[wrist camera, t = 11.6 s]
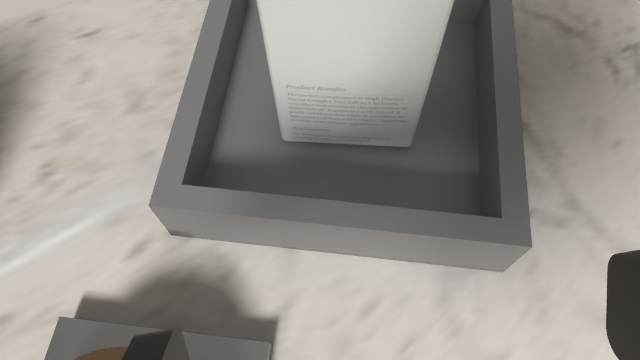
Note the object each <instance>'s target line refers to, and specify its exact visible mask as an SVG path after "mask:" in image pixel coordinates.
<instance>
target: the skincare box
mask: <svg viewBox="0 0 640 360" xmlns="http://www.w3.org/2000/svg"><path fill="white" fill-rule="evenodd" d="M453 2H454V0H257V6H258V11H259V16H260V22H261V27H262V33H263V38H264V44H265V49H266V55H267V60H268V66H269V71H270V77H271V82H272V87H273V93H274V98H275V104H276V109H277V114H278V120H279V127H280V133H281V137H282V139H283V140H284V141H293V142H316V143H336V144H356V145H375V146H396V147H410V146H411V145H412V141H413V138H414V134H415V131H416V127H417V124H418V121H419V117H420V114H421V111H422V107H423V104H424V101H425V97H426V94H427V91H428V87H429V84H430V81H431V77H432V74H433V70H434V67H435V64H436V60H437V57H438V54H439V50H440V47H441V44H442V40H443V37H444V33H445V30H446V27H447V23H448V20H449V16H450V13H451V9H452V6H453Z"/></svg>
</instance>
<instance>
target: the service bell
mask: <svg viewBox="0 0 640 360" xmlns="http://www.w3.org/2000/svg"><path fill="white" fill-rule="evenodd" d="M159 330H165V329H157V328H149V327H140V326H132V325H124V324H116V323H107V322H99V321H91V320H83V319H75V318H66V317H59V320H58V322H57V325H56V328H55V331H54V334H53V337H52V340H51V342H50V345H49V348H48V351H47V354H46V357H45V360H122V358H123V356H124V354H125V352H126V350H127V348H128V346H129V344H130V342H131V340H132V338H133V337H134V336H135V335H137V334H142V333H148V332H153V331H159ZM181 332H182V331H181ZM182 334H183V337H184V340H185V344H186V348H187V352H188V355H189V359H190V360H270V356H271V350H272V345H271V344H270V342H264V341H256V340H247V339H239V338H231V337H223V336H214V335H206V334H198V333H190V332H182Z"/></svg>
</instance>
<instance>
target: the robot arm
mask: <svg viewBox="0 0 640 360" xmlns="http://www.w3.org/2000/svg"><path fill="white" fill-rule="evenodd" d="M606 330H607V336H608V339H609V342H610V345H611V347H612V349H613V351H614V353H615V355H616V356H617V358H618V359H619V360H640V250H636V251H630V252H624V253H618V254H614V255H613V256H612V257H611V258H610V260H609V263H608V271H607V314H606ZM122 360H190V359H189V355H188V352H187V348H186V344H185V340H184V337H183V334H182V332H181V331H180V329H179V328H171V329H165V330H159V331H153V332H148V333H142V334H137V335H135V336H134V337H133V338H132V340H131V342H130V344H129V346H128V348H127V350H126V352H125V354H124V356H123V358H122Z"/></svg>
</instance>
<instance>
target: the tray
mask: <svg viewBox="0 0 640 360" xmlns="http://www.w3.org/2000/svg"><path fill="white" fill-rule="evenodd" d="M149 207H150V208H151V209H152V211H153V212H154V213H155V214H156V216H157V217H158V218H159V220H160V221H161V222H162V224H163V225H164V226H165V227H166V229H167V230H168V231H169V233H170V234H171V235H175V236H184V237H193V238H202V239H211V240H220V241H229V242H238V243H247V244H256V245H265V246H275V247H284V248H293V249H302V250H311V251H320V252H329V253H338V254H347V255H356V256H365V257H374V258H383V259H392V260H401V261H410V262H419V263H428V264H437V265H446V266H455V267H464V268H473V269H482V270H491V271H500V272H503V271H505V270H506V269H507V268H508V267H509V266H510V265H512V264H513V263H514V262H515V261H516V260H517V259H519V258H520V257H521V256H522V255H523V254H524V253H526V252H527V251H528V250H529V249H530V248H531V247H532V242H531V230H530V217H529V205H528V193H527V181H526V169H525V157H524V145H523V133H522V121H521V108H520V96H519V84H518V72H517V60H516V48H515V36H514V24H513V12H512V0H454V2H453V6H452V9H451V13H450V16H449V20H448V23H447V27H446V30H445V33H444V37H443V40H442V44H441V47H440V50H439V54H438V57H437V60H436V64H435V67H434V70H433V74H432V77H431V81H430V84H429V87H428V91H427V94H426V97H425V101H424V104H423V107H422V111H421V114H420V117H419V121H418V124H417V127H416V131H415V134H414V138H413V141H412V145H411V146H410V147H396V146H375V145H356V144H336V143H316V142H293V141H284V140H283V139H282V137H281V133H280V127H279V120H278V114H277V109H276V104H275V98H274V93H273V87H272V82H271V77H270V71H269V66H268V60H267V55H266V49H265V44H264V38H263V33H262V27H261V22H260V16H259V11H258V6H257V0H210V2H209V6H208V9H207V12H206V16H205V19H204V22H203V26H202V29H201V32H200V36H199V39H198V42H197V46H196V49H195V53H194V56H193V59H192V63H191V66H190V69H189V73H188V76H187V79H186V83H185V86H184V89H183V93H182V96H181V99H180V103H179V106H178V109H177V113H176V116H175V119H174V123H173V126H172V129H171V133H170V136H169V140H168V143H167V146H166V150H165V153H164V156H163V160H162V163H161V166H160V170H159V173H158V176H157V180H156V183H155V186H154V190H153V193H152V196H151V200H150V203H149Z"/></svg>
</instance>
